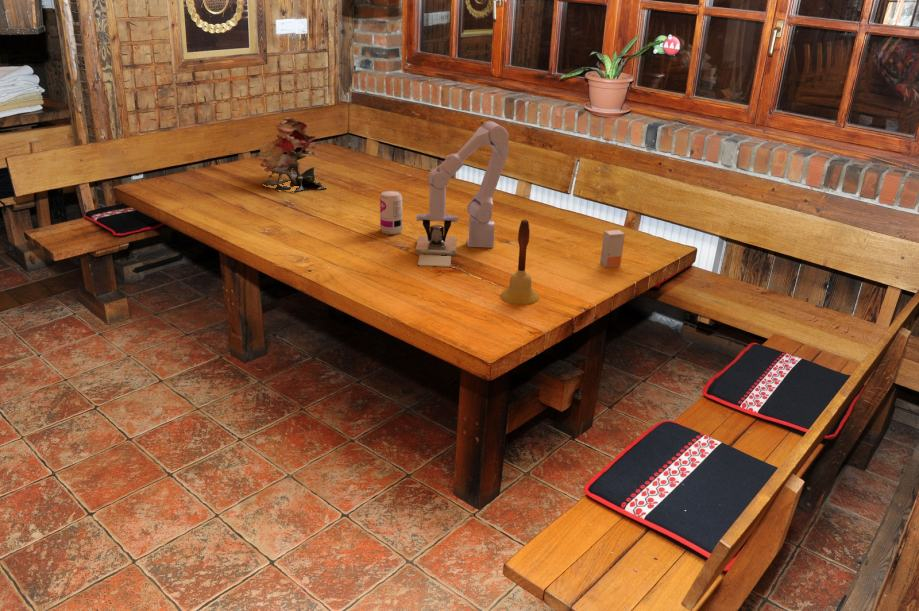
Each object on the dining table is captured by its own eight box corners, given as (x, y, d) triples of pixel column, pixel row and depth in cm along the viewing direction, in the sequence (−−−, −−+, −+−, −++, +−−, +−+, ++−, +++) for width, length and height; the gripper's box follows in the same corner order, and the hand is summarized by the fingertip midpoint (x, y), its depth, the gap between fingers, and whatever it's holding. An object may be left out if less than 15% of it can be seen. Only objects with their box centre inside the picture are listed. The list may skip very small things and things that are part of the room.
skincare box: (605, 267, 265) (609, 234, 260) (599, 263, 269) (603, 230, 264) (621, 266, 267) (625, 233, 262) (615, 261, 271) (619, 229, 266)
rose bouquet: (300, 174, 361) (296, 109, 348) (332, 188, 341) (330, 120, 328) (249, 182, 346) (243, 115, 333) (280, 198, 326) (275, 127, 313)
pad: (451, 257, 270) (451, 256, 270) (450, 267, 262) (450, 265, 262) (419, 256, 270) (419, 254, 270) (417, 265, 262) (417, 264, 262)
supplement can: (382, 235, 288) (382, 197, 281) (378, 228, 295) (378, 190, 289) (404, 234, 290) (404, 196, 283) (399, 227, 297) (399, 189, 291)
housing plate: (456, 242, 284) (456, 237, 283) (455, 256, 271) (455, 250, 270) (418, 240, 284) (418, 235, 283) (415, 254, 271) (415, 249, 271)
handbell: (534, 288, 248) (539, 213, 237) (543, 304, 237) (550, 227, 226) (496, 289, 246) (500, 214, 235) (504, 306, 235) (508, 228, 224)
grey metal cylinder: (443, 246, 280) (444, 225, 276) (443, 250, 275) (443, 229, 272) (430, 245, 280) (430, 224, 276) (429, 250, 276) (429, 229, 272)
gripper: (415, 206, 267) (415, 243, 273) (457, 208, 267) (456, 245, 273) (417, 200, 273) (417, 236, 279) (458, 202, 273) (457, 238, 279)
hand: (436, 240), depth 276 cm, fingers closed on grey metal cylinder, 5 cm apart
